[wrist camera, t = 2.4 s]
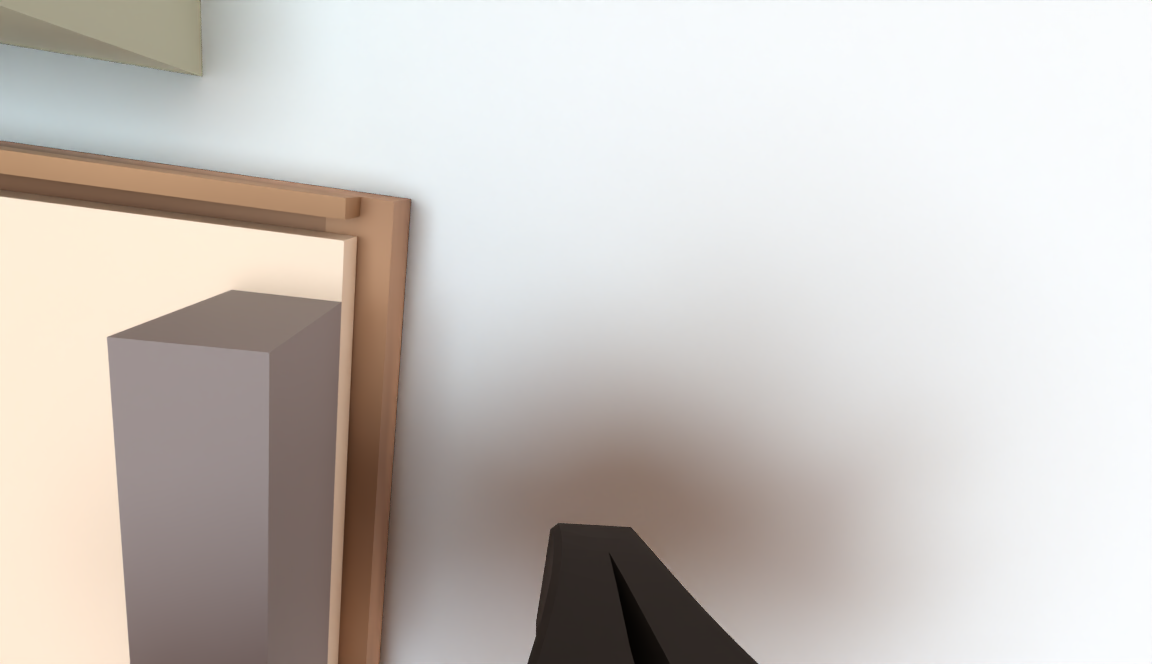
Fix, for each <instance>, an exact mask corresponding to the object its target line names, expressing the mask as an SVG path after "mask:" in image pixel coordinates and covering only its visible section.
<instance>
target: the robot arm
mask: <svg viewBox="0 0 1152 664" xmlns="http://www.w3.org/2000/svg"><path fill="white" fill-rule="evenodd" d="M528 664H758V663H757V662H756V661H755V660H754V659H753V658H752V657H751V656H750V655H749V654H748V653H746V652H745V651H744V650H743V649H742V648H741V647H740V646H739V645H738V644H737V643H736V642H735V641H734V640H733V639H732V638H731V637H730V636H729V635H728V634H727V633H726V632H725V631H724V630H723V629H722V628H721V627H720V626H719V625H718V623H717V622H716V621H715V620H714V619H713V618H712V617H711V616H710V615H709V614H708V613H707V612H706V611H705V610H704V609H703V608H702V607H701V605H700V604H699V603H698V602H697V601H696V600H695V599H694V598H693V597H692V596H691V595H690V594H689V592H688V591H687V590H686V589H685V588H684V587H683V586H682V585H681V584H680V582H679V581H678V580H677V579H676V578H675V577H674V576H673V575H672V573H671V572H670V571H669V570H668V569H667V568H666V567H665V565H664V564H663V563H662V562H661V561H660V560H659V559H658V557H657V556H656V555H655V554H654V553H653V552H652V551H651V549H650V548H649V547H648V546H647V545H646V544H645V542H644V541H643V540H642V539H641V538H640V537H639V536H638V535H637V533H636V532H635V531H634V530H633V529H632V528H631V527H617V526H599V525H582V524H564V523H558V524H557V525H555V526H554V527H553V528H551V530H550V536H549V543H548V549H547V555H546V562H545V568H544V575H543V581H542V588H541V594H540V601H539V607H538V614H537V620H536V638H535V641H534V645H533V648H532V651H531V654H530V657H529V661H528Z"/></svg>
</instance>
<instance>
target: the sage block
mask: <svg viewBox="0 0 1152 664" xmlns="http://www.w3.org/2000/svg"><path fill="white" fill-rule="evenodd" d="M0 43H2V44H8V45H14V46H20V47H26V48H32V49H38V50H44V51H50V52H56V53H62V54H68V55H75V56H81V57H87V58H93V59H99V60H105V61H111V62H117V63H123V64H129V65H135V66H141V67H147V68H153V69H160V70H166V71H172V72H178V73H184V74H190V75H196V76H202V44H201V3H200V0H0Z"/></svg>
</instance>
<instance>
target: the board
mask: <svg viewBox="0 0 1152 664" xmlns="http://www.w3.org/2000/svg"><path fill="white" fill-rule="evenodd" d="M0 190H5V191H13V192H21V193H28V194H36V195H44V196H51V197H59V198H67V199H74V200H82V201H90V202H97V203H105V204H113V205H120V206H128V207H136V208H143V209H151V210H159V211H166V212H174V213H182V214H189V215H197V216H205V217H212V218H220V219H228V220H236V221H243V222H251V223H259V224H266V225H274V226H282V227H289V228H297V229H305V230H312V231H320V232H328V233H335V234H343V235H351V236H357V253H356V275H355V297H354V320H353V342H352V364H351V386H350V408H349V430H348V452H347V475H346V497H345V519H344V541H343V563H342V585H341V607H340V629H339V652H338V664H379V660H380V645H381V630H382V616H383V601H384V586H385V572H386V557H387V543H388V528H389V513H390V499H391V484H392V469H393V455H394V440H395V425H396V411H397V396H398V381H399V367H400V352H401V337H402V323H403V308H404V294H405V279H406V264H407V250H408V235H409V220H410V206H411V199H406V198H399V197H392V196H385V195H378V194H371V193H364V192H357V191H350V190H343V189H336V188H329V187H322V186H315V185H308V184H301V183H294V182H287V181H280V180H273V179H266V178H259V177H252V176H245V175H238V174H231V173H224V172H217V171H210V170H203V169H196V168H189V167H182V166H175V165H168V164H161V163H154V162H147V161H140V160H133V159H126V158H119V157H112V156H105V155H98V154H91V153H84V152H76V151H69V150H62V149H55V148H48V147H41V146H34V145H27V144H20V143H13V142H6V141H0Z"/></svg>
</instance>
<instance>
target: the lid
mask: <svg viewBox="0 0 1152 664" xmlns="http://www.w3.org/2000/svg"><path fill="white" fill-rule="evenodd" d="M356 253H357V236H351V235H343V234H335V233H328V232H320V231H312V230H305V229H297V228H289V227H282V226H274V225H266V224H259V223H251V222H243V221H236V220H228V219H220V218H212V217H205V216H197V215H189V214H182V213H174V212H166V211H159V210H151V209H143V208H136V207H128V206H120V205H113V204H105V203H97V202H90V201H82V200H74V199H67V198H59V197H51V196H44V195H36V194H28V193H21V192H13V191H5V190H0V664H338V652H339V629H340V607H341V585H342V563H343V541H344V519H345V497H346V475H347V452H348V430H349V408H350V386H351V364H352V342H353V320H354V297H355V275H356Z"/></svg>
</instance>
